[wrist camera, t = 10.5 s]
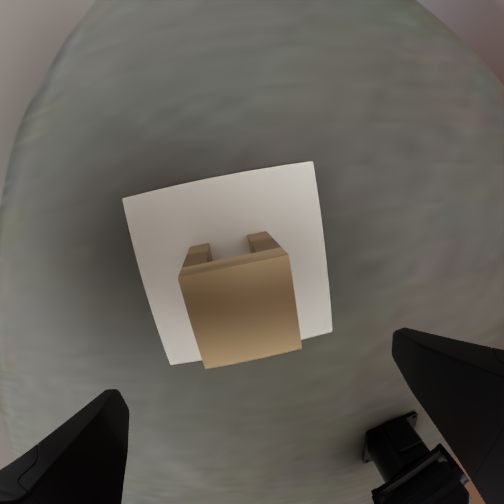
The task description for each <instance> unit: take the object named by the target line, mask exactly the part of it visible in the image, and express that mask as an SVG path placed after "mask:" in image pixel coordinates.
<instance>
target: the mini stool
mask: <svg viewBox="0 0 504 504" xmlns="http://www.w3.org/2000/svg"><path fill="white" fill-rule="evenodd" d="M247 237H248V242H249V247H250V252H251V253H250V254H246V255H241V256H236V257H231V258H227V259H222V260H217V261H213V260H212V255H211V251H210V246H209V243H206V244H202V245H197V246H192V247H190V248H189V250H188V253H187V255H186V258H185V260H184V263H183V266H182V268H181V271H180V273H179V276H178V281H179V284H180V288H181V292H182V295H183V299H184V302H185V306H186V309H187V313H188V316H189V319H190V323H191V326H192V329H193V333H194V336H195V339H196V342H197V345H198V349H199V352H200V355H201V358H202V361H203V364H204V367H205V369H209V368H215V367H220V366H226V365H231V364H236V363H241V362H246V361H251V360H255V359H260V358H264V357H269V356H273V355H278V354H282V353H286V352H290V351H294V350H298V349H302V344H301V336H300V329H299V321H298V314H297V307H296V300H295V293H294V286H293V279H292V273H291V266H290V260H289V254H288V253H287V252H286V251H285V250H284V249H283V248H282V247H281V246H280V245H279V244H278V243H277V242H276V241H275V240H274V239H273V238H272V237H271V236H270V234H269V233H268V232H267V231H264V232H259V233H255V234H250V235H247Z"/></svg>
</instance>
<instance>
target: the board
mask: <svg viewBox="0 0 504 504" xmlns="http://www.w3.org/2000/svg"><path fill="white" fill-rule="evenodd" d="M122 200H123V205H124V210H125V214H126V219H127V223H128V227H129V232H130V236H131V240H132V244H133V248H134V252H135V256H136V259H137V263H138V267H139V270H140V274H141V277H142V281H143V284H144V288H145V291H146V295H147V298H148V301H149V304H150V307H151V311H152V314H153V317H154V320H155V323H156V326H157V329H158V332H159V335H160V338H161V340H162V343H163V346H164V349H165V352H166V354H167V357H168V360H169V362H170V365H174V364H181V363H187V362H194V361H200V360H202V358H201V355H200V352H199V349H198V345H197V342H196V339H195V336H194V333H193V329H192V326H191V323H190V319H189V316H188V313H187V309H186V306H185V302H184V299H183V295H182V292H181V288H180V284H179V281H178V276H179V273H180V271H181V268H182V266H183V263H184V260H185V258H186V255H187V253H188V250H189V248H190V247H192V246H197V245H202V244H206V243H209V246H210V251H211V255H212V260H213V261H217V260H222V259H227V258H231V257H236V256H241V255H246V254H250V253H251V252H250V247H249V242H248V237H247V235H250V234H255V233H259V232H264V231H267V232H268V233H269V234H270V236H271V237H272V238H273V239H274V240H275V241H276V242H277V243H278V244H279V245H280V246H281V247H282V248H283V249H284V250H285V251H286V252H287V253H288V254H289V260H290V266H291V273H292V279H293V286H294V293H295V300H296V307H297V314H298V321H299V329H300V336H301V340H302V339H306V338H310V337H314V336H318V335H322V334H325V333H329V332H332V317H331V304H330V292H329V281H328V271H327V261H326V252H325V243H324V235H323V227H322V219H321V212H320V205H319V198H318V191H317V184H316V178H315V172H314V165H313V161H310V162H302V163H295V164H288V165H281V166H275V167H269V168H263V169H257V170H251V171H245V172H239V173H234V174H228V175H223V176H218V177H213V178H208V179H203V180H198V181H193V182H189V183H184V184H180V185H175V186H171V187H166V188H162V189H158V190H154V191H150V192H146V193H141V194H138V195H134V196H130V197H126V198H122Z"/></svg>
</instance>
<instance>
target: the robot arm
mask: <svg viewBox="0 0 504 504" xmlns="http://www.w3.org/2000/svg"><path fill="white" fill-rule="evenodd" d="M392 356H393V359H394V360H395V362H396V364H397V366H398V368H399V369H400V371H401V373H402V375H403V377H404V378H405V380H406V382H407V384H408V386H409V388H410V389H411V391H412V392H413V394H414V395H415V397H416V398H417V400H418V401H419V402H420V404H421V405H422V407H423V408H424V410H425V411H426V412H427V414H428V415H429V417H430V418H431V420H432V421H433V423H434V424H435V426H436V427H437V428H438V430H439V431H440V433H441V434H442V436H443V437H444V439H445V440H446V442H447V443H448V445H449V446H450V448H451V449H452V451H453V452H454V454H455V455H456V457H457V458H458V460H459V461H460V463H461V465H462V466H463V468H464V469H465V471H466V472H467V474H468V476H469V477H470V479H471V481H472V482H473V484H474V485H475V487H476V489H477V490H478V492H479V494H480V495H481V497H482V498H483V500H484V502H485V504H504V350H501V349H496V348H492V349H491V347H487V346H482V345H478V344H473V343H468V342H464V341H460V340H455V339H451V338H446V337H442V336H438V335H434V334H429V333H425V332H421V331H417V330H413V329H409V328H402V329H399V330H396V331H395V332H394V333H393V341H392ZM417 416H418V414H417V413H416V412H412V413H410V414H408V415H406V416H404V417H401V418H399V419H397V420H394V421H392V422H390V423H387V424H385V425H382V426H380V427H377V428H375V429H372V430H370V431H368V432H367V433H366V437H365V445H364V452H363V459H362V461H363V463H368V462H371V461H374V463H375V465H376V467H377V469H378V470H379V472H380V474H381V476H382V478H383V480H384V481H385V484H383V485H382V486H380V487H378V488H377V489H376V488H375V489H374V490H372V491H371V492H372V495H373V496H372V499H373V501H374V504H472V499H471V497H470V494H469V492H468V491H467V489H466V488H465V487H464V485H466V484H467V483H468V482H469V479H468V478H467V476H466V475H465V473H464V472H463V471H462V469H461V468H460V467H459V465H458V464H457V463H456V461H455V460H454V459H453V458H452V457H451V455H450V454H449V453H448V452H447V451H446V449H445V448H444V447H443V446H442V445H441V443H439V444H438V445H437V446H436V447H435V448H434V449H433V450H432V451H430V450H429V449H428V448H427V446H426V445H425V444H424V442H423V441H422V439H421V438H420V436H419V435H418V434H417V432H416V431H415V430H414V427H415V424H416V420H417ZM128 430H129V409H128V407H127V405H126V403H125V401H124V399H123V397H122V395H121V393H120V392H119V391H118V390H117V389H108V390H105V391H104V392H103V393H101V394H100V395H99V396H98V397H96V398H95V399H94V400H93V401H91V402H90V403H89V404H88V405H86V406H85V407H84V408H82V409H81V410H80V411H79V412H77V413H76V414H75V415H74V416H72V417H71V418H70V419H69V420H67V421H66V422H65V423H64V424H62V425H61V426H60V427H58V428H57V429H56V430H55V431H53V432H52V433H51V434H50V435H48V436H47V437H46V438H44V439H43V440H42V441H41V442H39V443H38V445H35V446H34V447H33V448H32V449H30V450H29V451H28V452H26V453H25V454H24V455H22V456H21V457H19V458H18V459H16V460H15V461H14V462H12V463H10V464H9V465H8V466H6V467H4V468H2V469H1V470H0V504H121V500H122V491H123V483H124V475H125V467H126V460H127V452H128Z"/></svg>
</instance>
